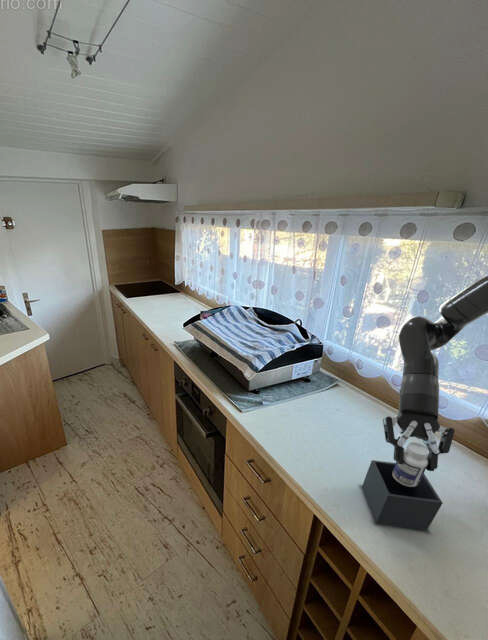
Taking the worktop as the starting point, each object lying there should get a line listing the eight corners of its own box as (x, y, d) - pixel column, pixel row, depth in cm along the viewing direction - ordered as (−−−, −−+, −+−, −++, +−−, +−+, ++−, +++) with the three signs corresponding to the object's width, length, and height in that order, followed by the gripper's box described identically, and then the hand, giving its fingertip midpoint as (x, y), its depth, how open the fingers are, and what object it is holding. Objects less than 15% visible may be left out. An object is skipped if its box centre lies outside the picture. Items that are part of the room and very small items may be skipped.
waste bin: (406, 492, 82) (419, 465, 78) (426, 531, 73) (442, 503, 68) (361, 486, 84) (371, 460, 80) (375, 523, 75) (388, 495, 70)
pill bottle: (405, 468, 76) (419, 438, 72) (423, 485, 72) (439, 455, 67) (386, 471, 76) (399, 441, 71) (403, 489, 71) (418, 458, 66)
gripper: (390, 386, 72) (384, 458, 68) (464, 398, 68) (462, 476, 64) (380, 393, 79) (374, 459, 75) (446, 404, 75) (443, 475, 71)
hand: (414, 466), depth 70 cm, fingers closed on pill bottle, 5 cm apart
